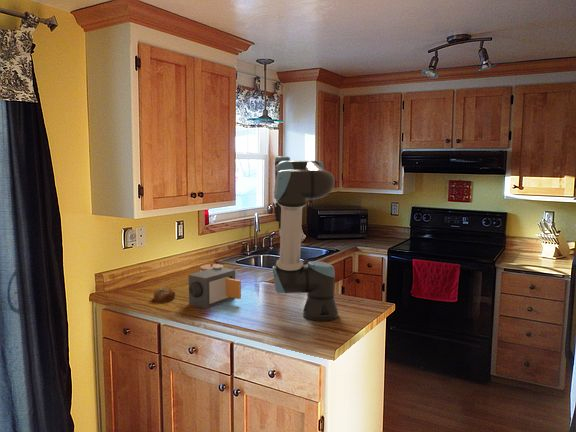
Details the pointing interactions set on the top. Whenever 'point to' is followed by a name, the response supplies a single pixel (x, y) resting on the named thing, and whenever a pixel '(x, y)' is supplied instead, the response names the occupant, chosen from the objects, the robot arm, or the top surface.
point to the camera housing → (206, 285)
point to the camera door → (224, 289)
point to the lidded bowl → (209, 266)
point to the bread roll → (164, 294)
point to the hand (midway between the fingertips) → (282, 234)
